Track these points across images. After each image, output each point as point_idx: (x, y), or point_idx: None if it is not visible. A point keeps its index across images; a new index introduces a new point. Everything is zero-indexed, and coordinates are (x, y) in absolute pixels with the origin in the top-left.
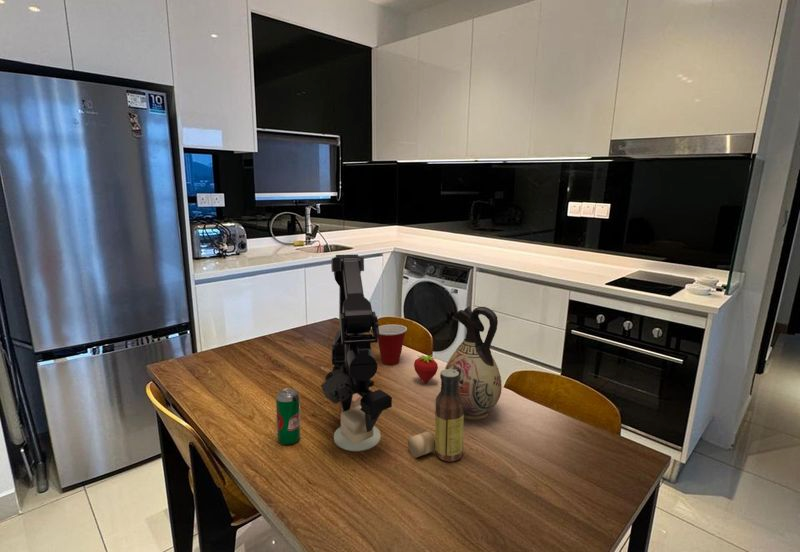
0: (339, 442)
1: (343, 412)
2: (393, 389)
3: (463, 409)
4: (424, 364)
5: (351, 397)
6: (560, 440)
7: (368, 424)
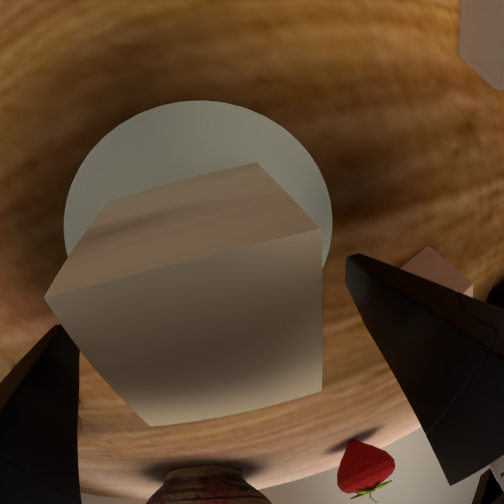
0: (167, 121)
1: (311, 261)
2: (386, 399)
3: (164, 494)
4: (362, 485)
5: (409, 393)
6: (91, 484)
7: (10, 375)
